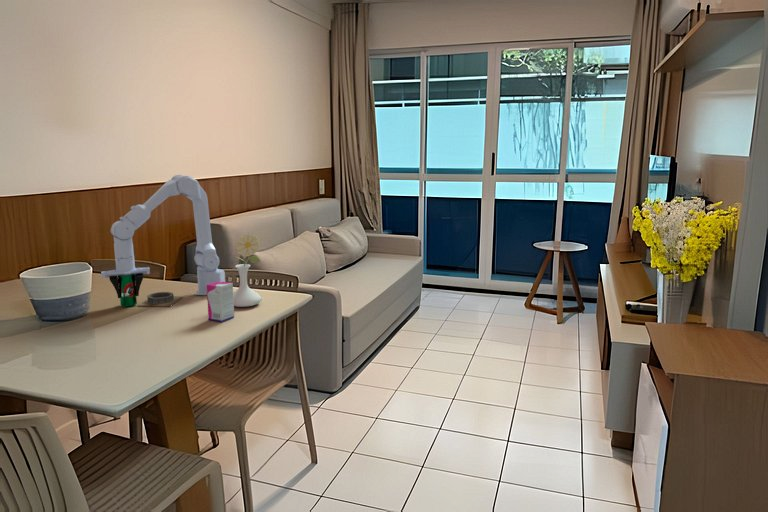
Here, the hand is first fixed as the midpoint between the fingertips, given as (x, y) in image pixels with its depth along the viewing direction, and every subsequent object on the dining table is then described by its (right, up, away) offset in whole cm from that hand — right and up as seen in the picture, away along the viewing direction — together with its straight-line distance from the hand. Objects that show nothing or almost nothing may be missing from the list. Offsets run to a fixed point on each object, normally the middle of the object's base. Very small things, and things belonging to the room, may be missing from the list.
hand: (128, 296), depth 178 cm
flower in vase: (+39, -3, +2) cm, 40 cm away
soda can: (0, -3, +1) cm, 3 cm away
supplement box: (+35, -6, -12) cm, 38 cm away
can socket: (+9, -2, +5) cm, 11 cm away
